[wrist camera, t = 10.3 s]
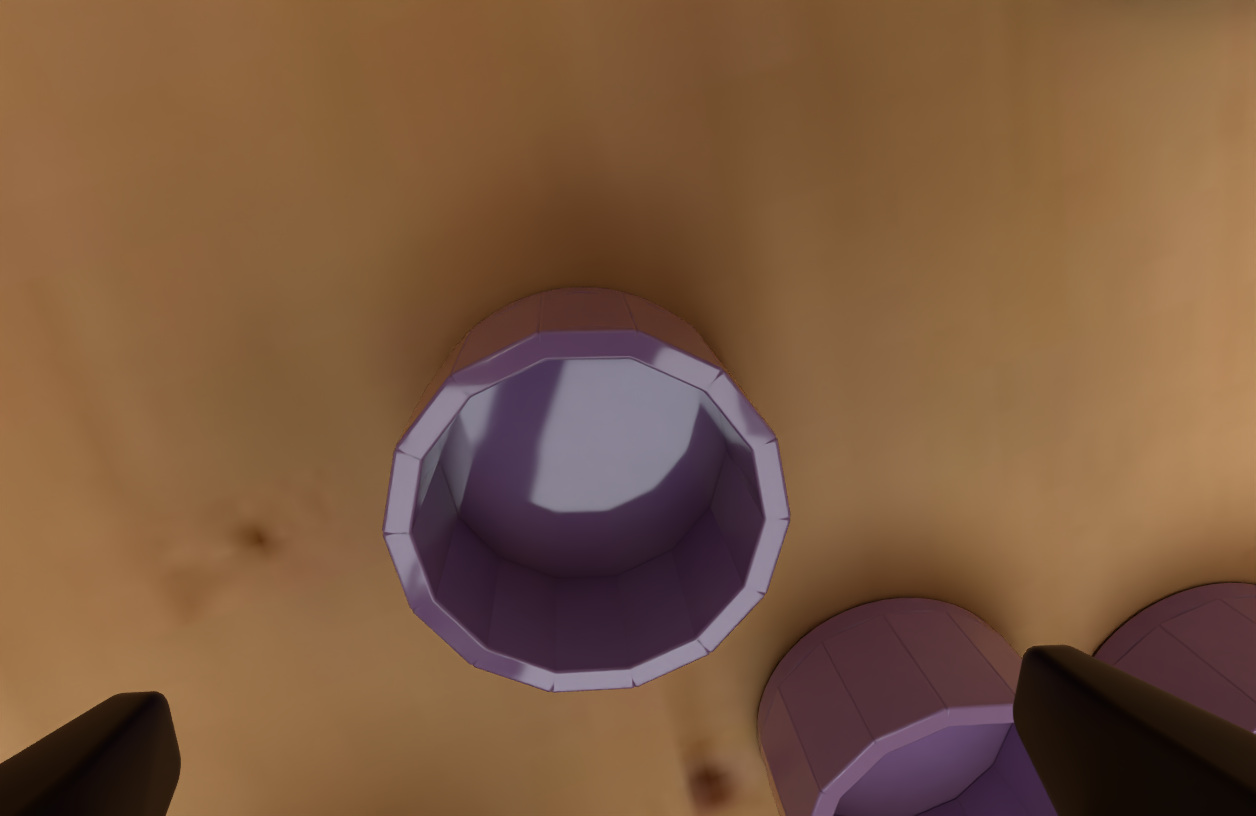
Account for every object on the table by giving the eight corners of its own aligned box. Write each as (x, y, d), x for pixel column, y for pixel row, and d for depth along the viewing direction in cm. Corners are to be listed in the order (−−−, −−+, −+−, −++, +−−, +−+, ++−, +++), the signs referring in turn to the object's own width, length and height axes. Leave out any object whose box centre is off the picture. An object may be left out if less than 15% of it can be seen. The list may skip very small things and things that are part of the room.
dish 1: (734, 573, 17) (778, 681, 13) (432, 585, 16) (400, 702, 13) (749, 283, 15) (806, 326, 11) (406, 288, 14) (359, 334, 11)
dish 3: (1279, 785, 20) (1423, 913, 17) (1045, 801, 20) (1146, 937, 16) (1353, 575, 18) (1533, 674, 15) (1095, 587, 18) (1222, 692, 14)
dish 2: (995, 805, 20) (1085, 942, 16) (746, 822, 19) (786, 967, 16) (1038, 590, 18) (1152, 696, 14) (761, 602, 17) (811, 715, 14)
